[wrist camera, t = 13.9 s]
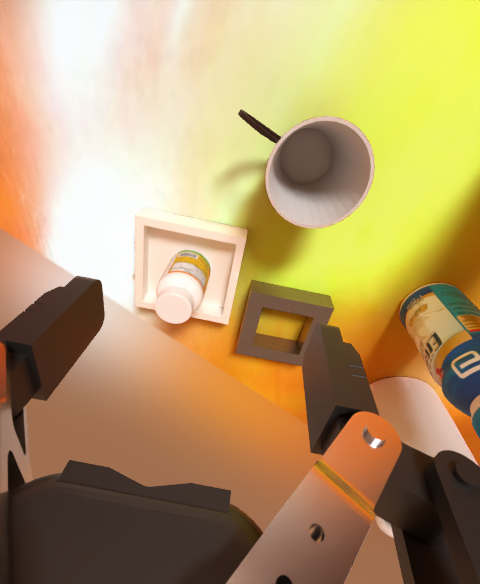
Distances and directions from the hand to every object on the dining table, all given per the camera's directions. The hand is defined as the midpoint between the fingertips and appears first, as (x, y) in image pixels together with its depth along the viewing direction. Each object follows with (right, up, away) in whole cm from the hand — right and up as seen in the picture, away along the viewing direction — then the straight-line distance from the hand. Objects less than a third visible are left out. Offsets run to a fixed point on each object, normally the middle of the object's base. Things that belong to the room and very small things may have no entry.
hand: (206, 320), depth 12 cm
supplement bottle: (-5, +4, +29) cm, 30 cm away
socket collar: (+7, -3, +34) cm, 35 cm away
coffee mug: (+8, +17, +21) cm, 28 cm away
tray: (-5, +5, +30) cm, 31 cm away
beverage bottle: (+27, -1, +31) cm, 41 cm away
